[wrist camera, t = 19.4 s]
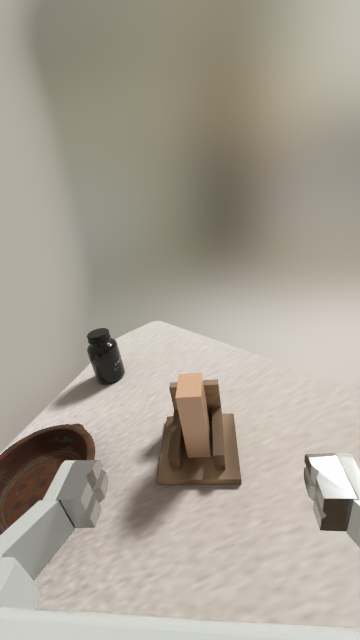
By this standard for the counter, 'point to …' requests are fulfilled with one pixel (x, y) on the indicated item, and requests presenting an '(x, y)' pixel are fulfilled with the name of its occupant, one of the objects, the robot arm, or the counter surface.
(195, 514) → the counter surface
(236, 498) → the counter surface
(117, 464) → the counter surface
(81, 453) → the dish
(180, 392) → the clay block
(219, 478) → the tan railed base plate
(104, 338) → the supplement bottle
